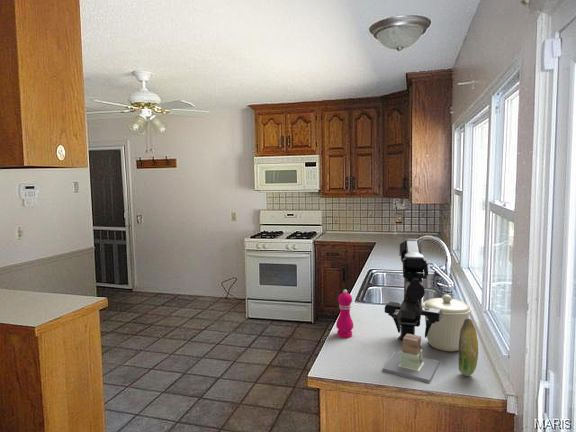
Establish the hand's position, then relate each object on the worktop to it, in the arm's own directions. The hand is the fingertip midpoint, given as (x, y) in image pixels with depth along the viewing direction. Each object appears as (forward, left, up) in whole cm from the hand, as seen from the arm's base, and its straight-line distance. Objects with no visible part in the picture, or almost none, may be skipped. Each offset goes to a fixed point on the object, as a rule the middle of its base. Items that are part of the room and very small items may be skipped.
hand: (412, 334), depth 144 cm
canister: (-25, +7, -12) cm, 29 cm away
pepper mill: (-15, -32, -12) cm, 37 cm away
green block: (0, 0, -11) cm, 11 cm away
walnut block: (0, 0, -6) cm, 6 cm away
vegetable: (-3, +18, -12) cm, 22 cm away
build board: (0, 0, -12) cm, 12 cm away
